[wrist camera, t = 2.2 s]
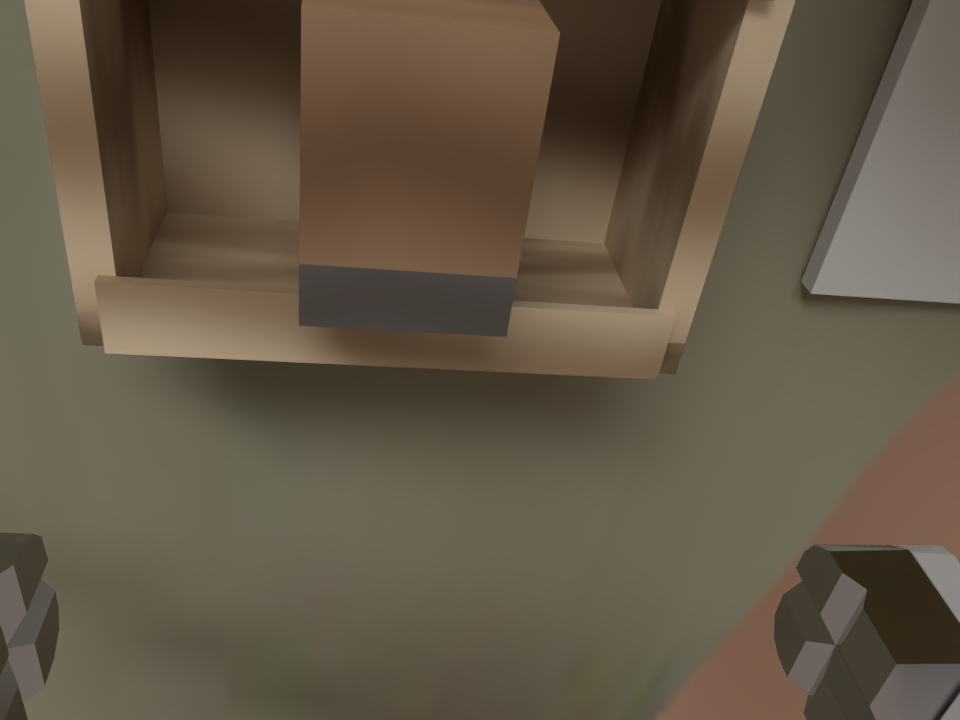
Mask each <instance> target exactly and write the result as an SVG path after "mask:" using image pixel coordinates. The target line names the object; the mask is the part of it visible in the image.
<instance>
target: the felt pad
mask: <svg viewBox="0 0 960 720" xmlns="http://www.w3.org/2000/svg"><path fill="white" fill-rule="evenodd" d="M801 282H802V283H803V285H804V286H805V287H806V288H807V290H808V291H809V292H810V293H811V294H822V295H837V296H852V297H868V298H883V299H898V300H913V301H928V302H944V303H959V304H960V0H913V1H912V3H911V6H910V9H909V11H908V14H907V16H906V19H905V21H904V24H903V26H902V29H901V31H900V34H899V36H898V39H897V41H896V44H895V46H894V49H893V51H892V54H891V56H890V59H889V61H888V64H887V66H886V69H885V72H884V74H883V77H882V79H881V82H880V84H879V87H878V89H877V92H876V94H875V97H874V99H873V102H872V104H871V107H870V109H869V112H868V114H867V117H866V119H865V122H864V124H863V127H862V129H861V132H860V135H859V137H858V140H857V142H856V145H855V147H854V150H853V152H852V155H851V157H850V160H849V162H848V165H847V167H846V170H845V172H844V175H843V177H842V180H841V182H840V185H839V187H838V190H837V192H836V195H835V198H834V200H833V203H832V205H831V208H830V210H829V213H828V215H827V218H826V220H825V223H824V225H823V228H822V230H821V233H820V235H819V238H818V240H817V243H816V245H815V248H814V250H813V253H812V255H811V258H810V261H809V263H808V266H807V268H806V271H805V273H804V276H803V278H802V281H801Z"/></svg>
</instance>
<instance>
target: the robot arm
mask: <svg viewBox="0 0 960 720" xmlns="http://www.w3.org/2000/svg"><path fill="white" fill-rule="evenodd" d="M47 562H48V558H47V554H46V550H45V547H44V543H43V540H42V537H41V536H38V535H35V534H23V533H0V720H28V719H27V715H26V712H25V708H24V704H23V703H24V702H26V701H27V700H28V699H29V698H30V697H31V696H33V695H34V694H35V693H36V692H37V691H39V690H40V689H41V688H42V687H43V686H44V685H45V683H46V680H47V677H48V675H49V672H50V669H51V666H52V663H53V660H54V655H55V650H56V644H57V638H58V632H59V607H58V602H57V597H56V593H55V590H54V589H52V588H51V587H50V586H48V585H47V584H46V583H45V582H43V581H42V580H41V576H42V574H43V572H44V569H45V567H46V564H47ZM796 568H797V571H798V573H799V575H800V577H801V579H802V582H800V583H799V584H797V585H796V586H795V587H793V588H792V589H790V590H789V591H788V592H786V593H785V594H783V596H782V599H781V601H780V604H779V606H778V608H777V611H776V613H775V626H774V639H775V644H776V648H777V653H778V657H779V659H780V662H781V664H782V666H783V669H784V671H785V673H786V675H787V677H788V678H789V679H790V680H791V681H792V682H794V683H795V684H796V685H797V686H799V687H800V688H801V689H802V690H803V691H804V692H806V693H807V694H808V697H807V702H806V705H805V709H804V715H805V717H806V719H807V720H960V563H959V562H958V560H957V559H956V558H955V556H954V555H953V554H952V553H951V552H949V551H948V550H946V549H944V548H943V547H941V546H940V545H897V546H892V545H813V546H812V547H810V548H809V549H808V550H806V551H805V552H804V553H803V555H802V557H801V559H800V561H799V564H798V565H797V567H796Z"/></svg>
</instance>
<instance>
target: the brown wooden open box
mask: <svg viewBox="0 0 960 720" xmlns="http://www.w3.org/2000/svg"><path fill="white" fill-rule="evenodd" d="M24 1H25V7H26V13H27V19H28V25H29V31H30V37H31V43H32V49H33V55H34V61H35V67H36V73H37V79H38V85H39V91H40V97H41V103H42V109H43V114H44V120H45V126H46V132H47V138H48V144H49V150H50V156H51V162H52V168H53V174H54V180H55V186H56V192H57V198H58V204H59V210H60V216H61V222H62V228H63V234H64V240H65V246H66V252H67V258H68V263H69V269H70V275H71V281H72V287H73V293H74V299H75V305H76V311H77V317H78V323H79V329H80V335H81V341H82V345H94V346H104V351H105V353H111V354H132V355H153V356H174V357H195V358H216V359H237V360H258V361H279V362H299V363H320V364H341V365H362V366H383V367H404V368H425V369H446V370H467V371H488V372H509V373H530V374H551V375H572V376H593V377H614V378H635V379H656V380H657V378H658V375H659V373H666V374H675V373H676V370H677V367H678V364H679V361H680V357H681V354H682V351H683V348H684V345H685V342H686V339H687V336H688V333H689V329H690V326H691V323H692V320H693V317H694V314H695V311H696V308H697V305H698V302H699V298H700V295H701V292H702V289H703V286H704V283H705V280H706V277H707V274H708V271H709V267H710V264H711V261H712V258H713V255H714V252H715V249H716V246H717V243H718V240H719V236H720V233H721V230H722V227H723V224H724V221H725V218H726V215H727V212H728V209H729V205H730V202H731V199H732V196H733V193H734V190H735V187H736V184H737V181H738V178H739V174H740V171H741V168H742V165H743V162H744V159H745V156H746V153H747V150H748V146H749V143H750V140H751V137H752V134H753V131H754V128H755V125H756V122H757V119H758V115H759V112H760V109H761V106H762V103H763V100H764V97H765V94H766V91H767V88H768V84H769V81H770V78H771V75H772V72H773V69H774V66H775V63H776V60H777V57H778V53H779V50H780V47H781V44H782V41H783V38H784V35H785V32H786V29H787V26H788V22H789V19H790V16H791V13H792V10H793V7H794V4H795V1H796V0H539V1H540V3H541V4H542V6H543V7H544V9H545V10H546V12H547V14H548V15H549V17H550V18H551V20H552V21H553V23H554V24H555V26H556V27H557V29H558V31H559V32H560V37H559V42H558V48H557V54H556V59H555V65H554V71H553V76H552V82H551V88H550V93H549V99H548V105H547V110H546V116H545V122H544V127H543V133H542V139H541V144H540V150H539V156H538V161H537V167H536V173H535V178H534V184H533V190H532V195H531V201H530V207H529V212H528V218H527V224H526V229H525V235H524V241H523V246H522V252H521V258H520V263H519V269H518V275H517V280H516V286H515V292H514V297H513V303H512V309H511V314H510V320H509V326H508V331H507V337H498V336H479V335H461V334H443V333H424V332H406V331H387V330H369V329H350V328H332V327H313V326H299V227H300V106H301V4H302V1H303V0H24Z"/></svg>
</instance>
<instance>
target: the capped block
mask: <svg viewBox="0 0 960 720" xmlns="http://www.w3.org/2000/svg"><path fill="white" fill-rule="evenodd" d="M559 37H560V32H559V31H558V29H557V27H556V26H555V24H554V23H553V21H552V20H551V18H550V17H549V15H548V14H547V12H546V10H545V9H544V7H543V6H542V4H541V3H540V1H539V0H303V1H302V4H301V106H300V227H299V326H313V327H332V328H350V329H369V330H387V331H406V332H424V333H443V334H461V335H479V336H498V337H507V331H508V326H509V320H510V314H511V309H512V303H513V297H514V292H515V286H516V280H517V275H518V269H519V263H520V258H521V252H522V246H523V241H524V235H525V229H526V224H527V218H528V212H529V207H530V201H531V195H532V190H533V184H534V178H535V173H536V167H537V161H538V156H539V150H540V144H541V139H542V133H543V127H544V122H545V116H546V110H547V105H548V99H549V93H550V88H551V82H552V76H553V71H554V65H555V59H556V54H557V48H558V42H559Z"/></svg>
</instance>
